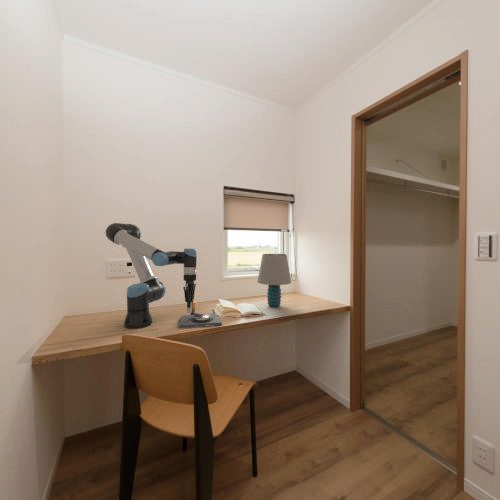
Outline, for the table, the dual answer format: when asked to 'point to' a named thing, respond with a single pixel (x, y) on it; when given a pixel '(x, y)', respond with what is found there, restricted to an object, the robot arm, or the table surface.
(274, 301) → the lamp
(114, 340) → the table surface
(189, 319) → the panel
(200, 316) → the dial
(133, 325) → the robot arm
